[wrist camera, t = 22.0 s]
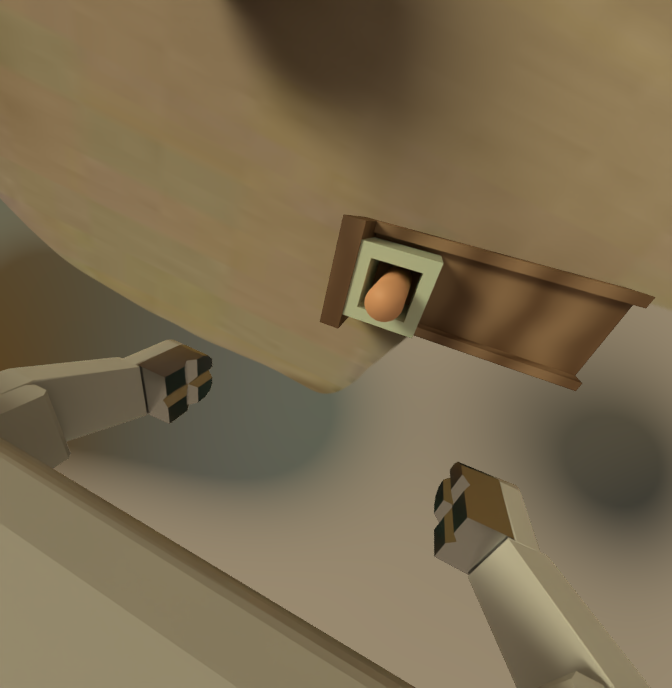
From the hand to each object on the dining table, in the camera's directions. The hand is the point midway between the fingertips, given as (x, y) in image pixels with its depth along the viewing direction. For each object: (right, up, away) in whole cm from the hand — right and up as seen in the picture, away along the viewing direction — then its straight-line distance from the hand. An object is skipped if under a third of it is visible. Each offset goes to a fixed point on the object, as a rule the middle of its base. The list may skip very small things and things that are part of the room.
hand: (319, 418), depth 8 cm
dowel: (+7, +9, +21) cm, 24 cm away
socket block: (+7, +9, +20) cm, 24 cm away
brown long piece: (+15, +8, +21) cm, 27 cm away
